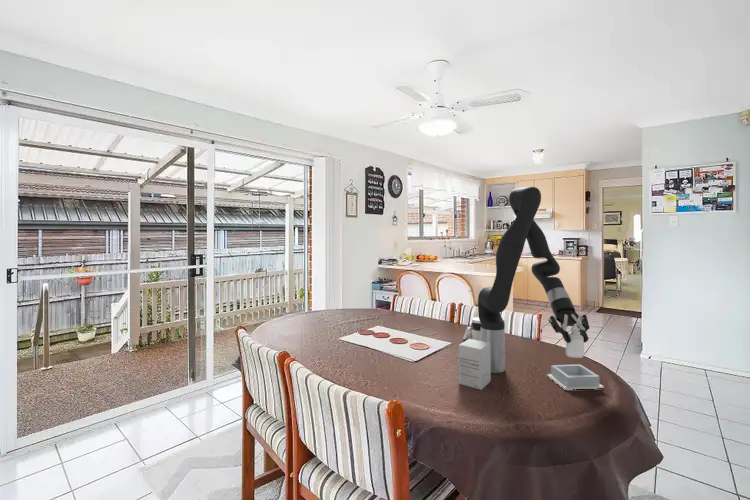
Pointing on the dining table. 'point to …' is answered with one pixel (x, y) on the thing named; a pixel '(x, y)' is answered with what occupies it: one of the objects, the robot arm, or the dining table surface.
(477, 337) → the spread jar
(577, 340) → the eye dropper bottle
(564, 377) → the bottle stand
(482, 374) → the supplement box
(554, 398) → the dining table surface
